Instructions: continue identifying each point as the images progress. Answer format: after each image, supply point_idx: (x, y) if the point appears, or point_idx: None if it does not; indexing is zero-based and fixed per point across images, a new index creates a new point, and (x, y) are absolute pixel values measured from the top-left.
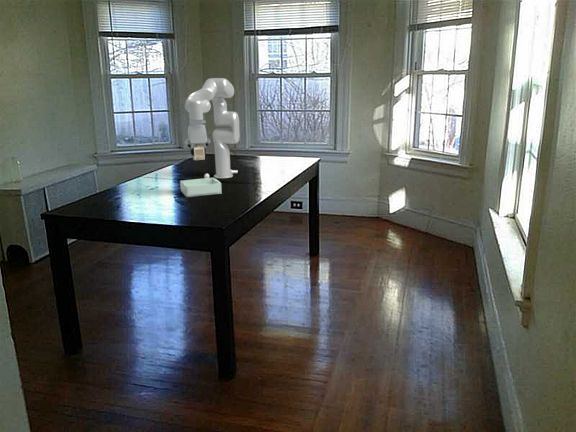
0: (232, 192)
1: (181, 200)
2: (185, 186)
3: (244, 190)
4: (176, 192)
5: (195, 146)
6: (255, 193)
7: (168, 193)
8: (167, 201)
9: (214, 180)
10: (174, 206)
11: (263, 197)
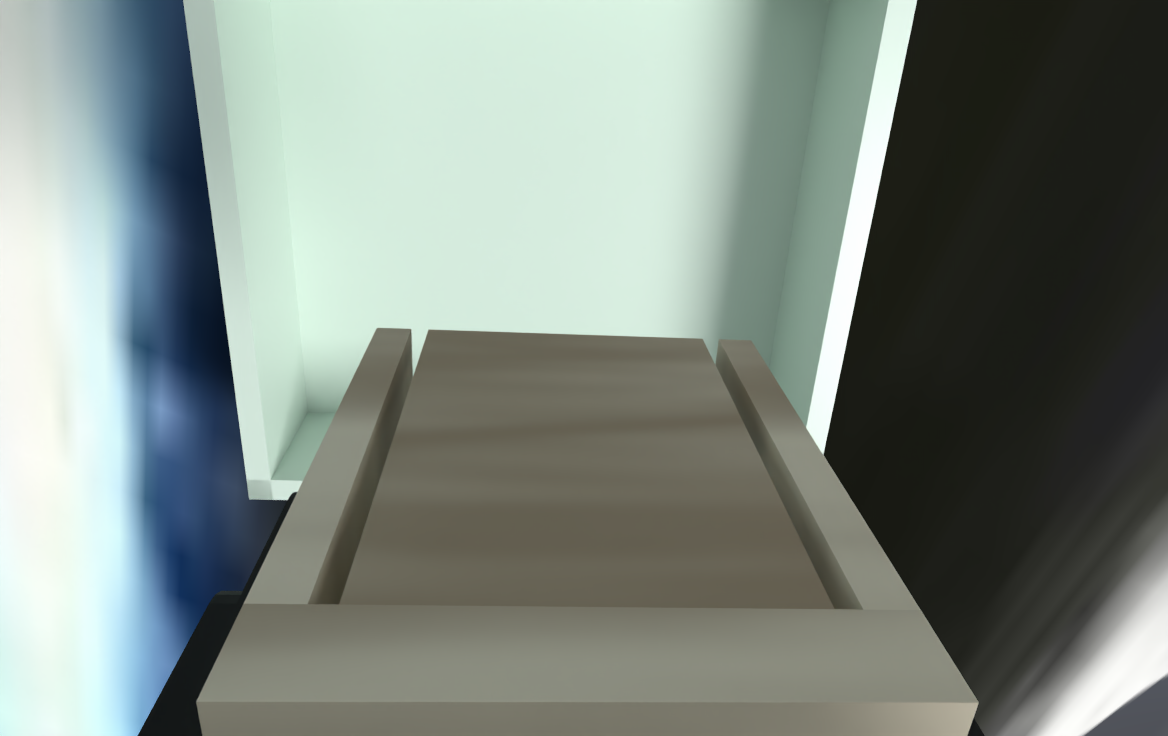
0: (922, 407)
1: (218, 525)
2: (247, 465)
3: (1109, 371)
4: (168, 6)
5: (466, 731)
6: (1107, 564)
7: (26, 17)
8: (39, 502)
9: (850, 156)
10: (128, 718)
11: (1057, 732)
